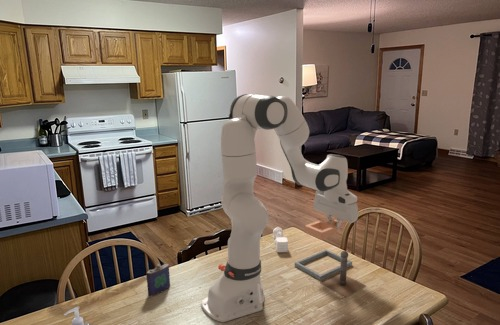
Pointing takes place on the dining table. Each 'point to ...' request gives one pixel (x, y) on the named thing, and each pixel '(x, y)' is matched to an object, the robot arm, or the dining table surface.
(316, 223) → the ring
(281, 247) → the container set
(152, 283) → the flask
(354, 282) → the post
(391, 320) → the dining table surface
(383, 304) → the dining table surface
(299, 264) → the grey rectangular frame
